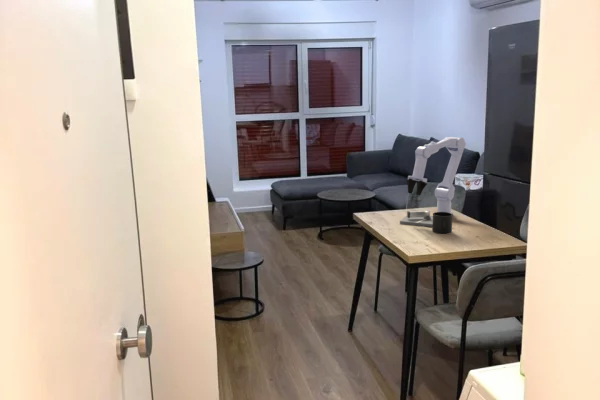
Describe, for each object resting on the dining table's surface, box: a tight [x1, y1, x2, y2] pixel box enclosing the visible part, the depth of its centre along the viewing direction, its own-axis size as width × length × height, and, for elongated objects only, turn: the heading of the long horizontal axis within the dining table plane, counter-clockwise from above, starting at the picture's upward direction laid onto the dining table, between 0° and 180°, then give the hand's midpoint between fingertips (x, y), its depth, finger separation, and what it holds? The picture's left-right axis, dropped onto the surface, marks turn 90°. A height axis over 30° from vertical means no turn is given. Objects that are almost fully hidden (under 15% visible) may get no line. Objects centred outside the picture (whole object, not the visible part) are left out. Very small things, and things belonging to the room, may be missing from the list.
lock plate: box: [399, 215, 433, 228], centre depth 290 cm, size 18×22×2 cm
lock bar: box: [406, 210, 431, 218], centre depth 290 cm, size 12×3×3 cm, turn 93°
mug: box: [431, 211, 453, 235], centre depth 270 cm, size 9×12×9 cm
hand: (413, 194), depth 287 cm, fingers open, 7 cm apart
